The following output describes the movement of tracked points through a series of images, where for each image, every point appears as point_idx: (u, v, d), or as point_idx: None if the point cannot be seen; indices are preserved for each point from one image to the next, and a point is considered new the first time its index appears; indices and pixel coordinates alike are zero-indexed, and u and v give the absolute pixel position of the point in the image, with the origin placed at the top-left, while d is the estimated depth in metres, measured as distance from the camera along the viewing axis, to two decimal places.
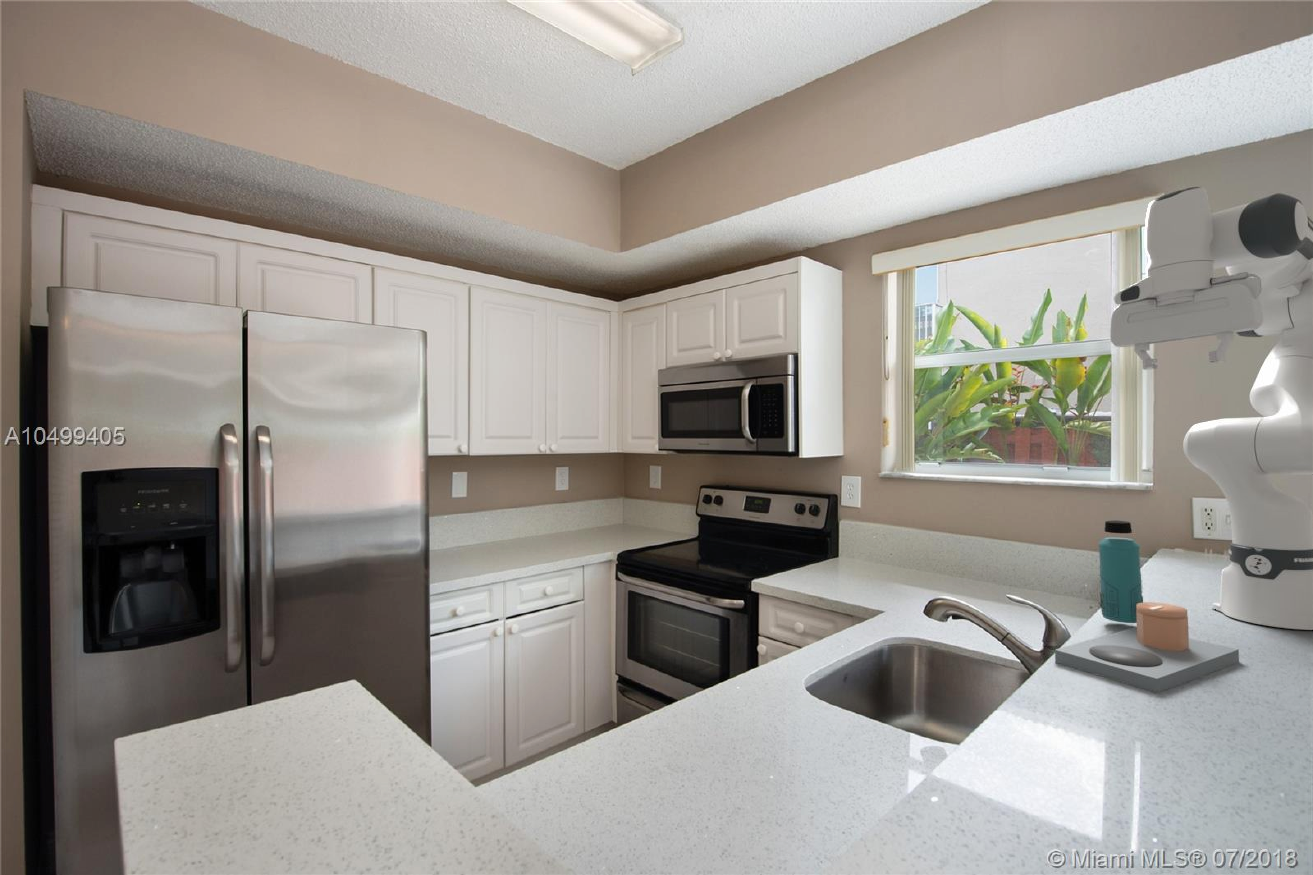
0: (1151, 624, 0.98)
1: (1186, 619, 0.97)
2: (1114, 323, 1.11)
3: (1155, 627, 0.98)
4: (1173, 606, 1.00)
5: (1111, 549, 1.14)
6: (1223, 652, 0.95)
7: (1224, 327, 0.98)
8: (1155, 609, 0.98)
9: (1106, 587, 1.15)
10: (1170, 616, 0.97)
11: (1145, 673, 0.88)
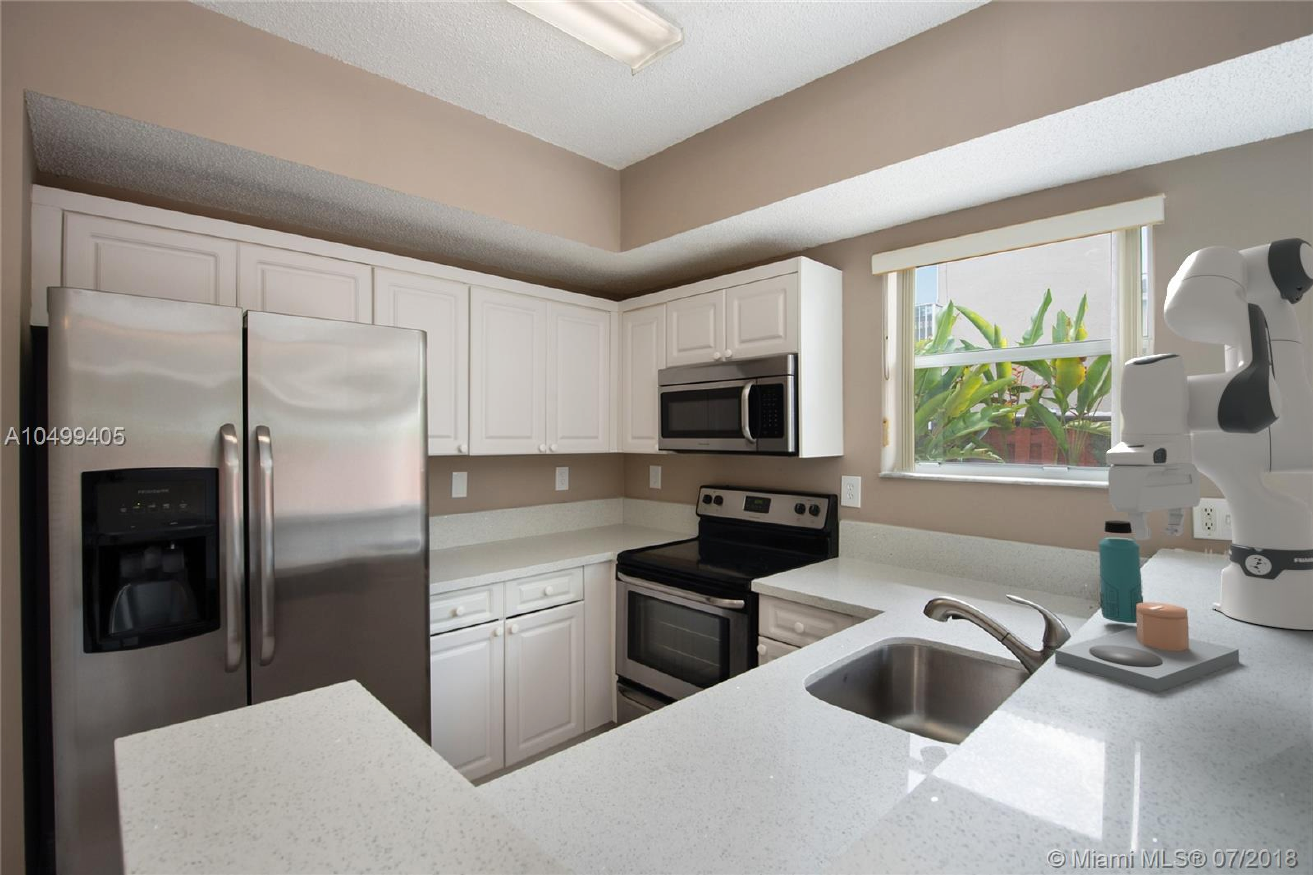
0: (1151, 624, 0.98)
1: (1186, 619, 0.97)
2: (1142, 486, 0.94)
3: (1155, 627, 0.98)
4: (1173, 606, 1.00)
5: (1111, 549, 1.14)
6: (1223, 652, 0.95)
7: (1191, 503, 1.01)
8: (1155, 609, 0.98)
9: (1106, 587, 1.15)
10: (1170, 616, 0.97)
11: (1145, 673, 0.88)
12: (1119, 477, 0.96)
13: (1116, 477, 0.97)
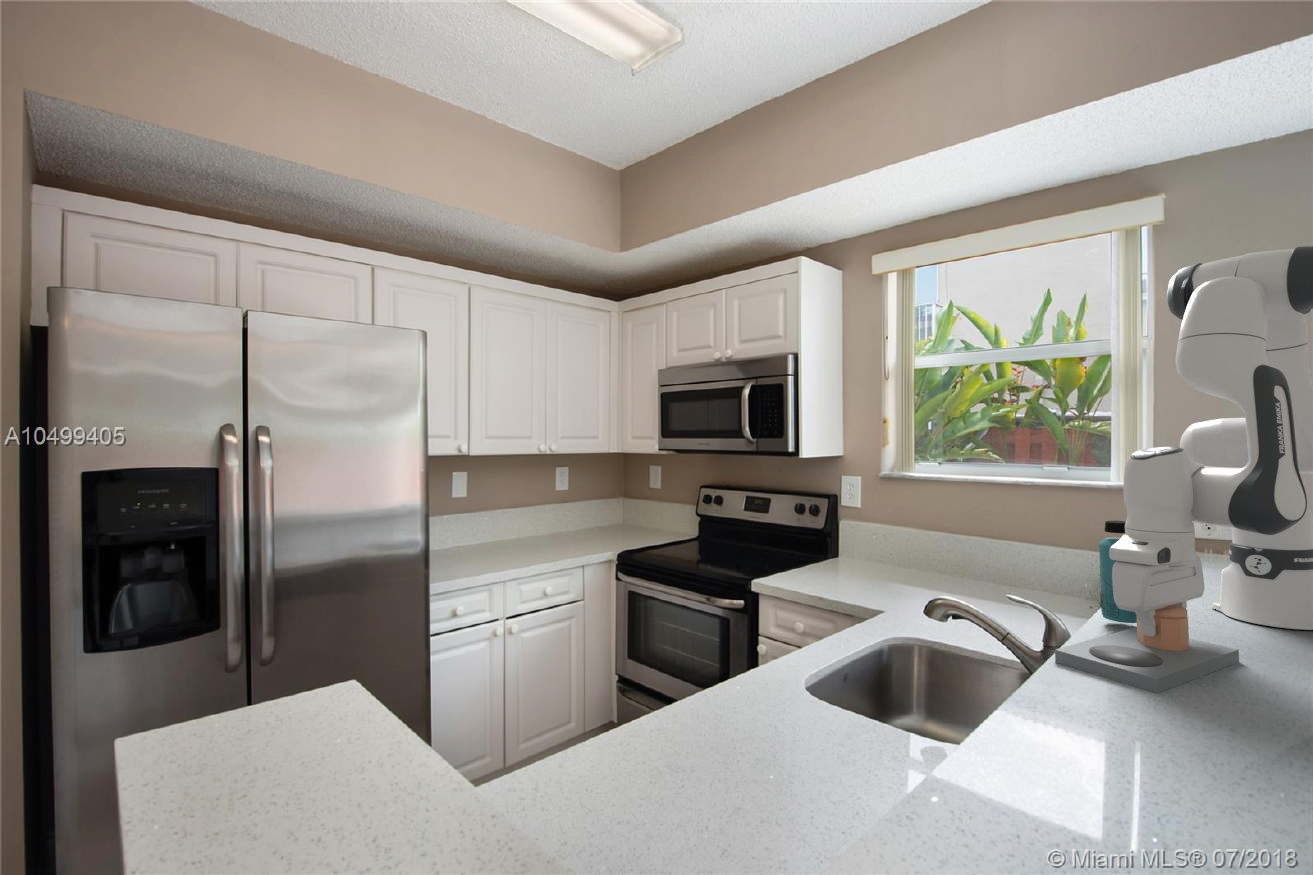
0: None
1: (1186, 619, 0.97)
2: (1146, 587, 0.94)
3: None
4: (1173, 606, 1.00)
5: None
6: (1223, 652, 0.95)
7: (1194, 596, 1.01)
8: (1155, 609, 0.98)
9: (1106, 587, 1.15)
10: (1170, 616, 0.97)
11: (1145, 673, 0.88)
12: (1122, 575, 0.96)
13: (1120, 575, 0.96)
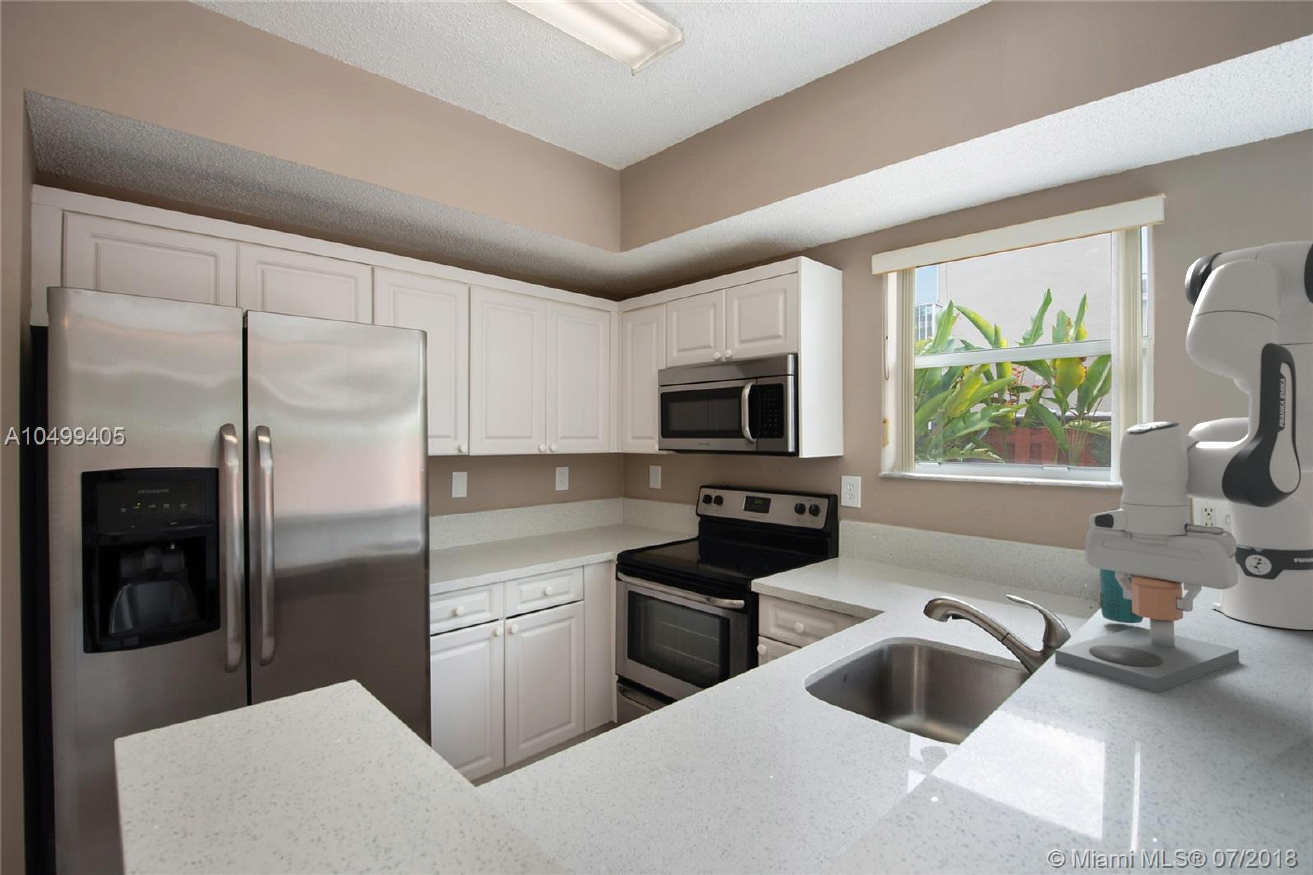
0: None
1: (1153, 590, 0.98)
2: (1089, 544, 1.08)
3: None
4: (1170, 581, 0.98)
5: None
6: (1223, 652, 0.95)
7: (1198, 582, 0.94)
8: (1137, 575, 1.02)
9: (1106, 587, 1.15)
10: (1133, 581, 1.01)
11: (1145, 673, 0.88)
12: None
13: None
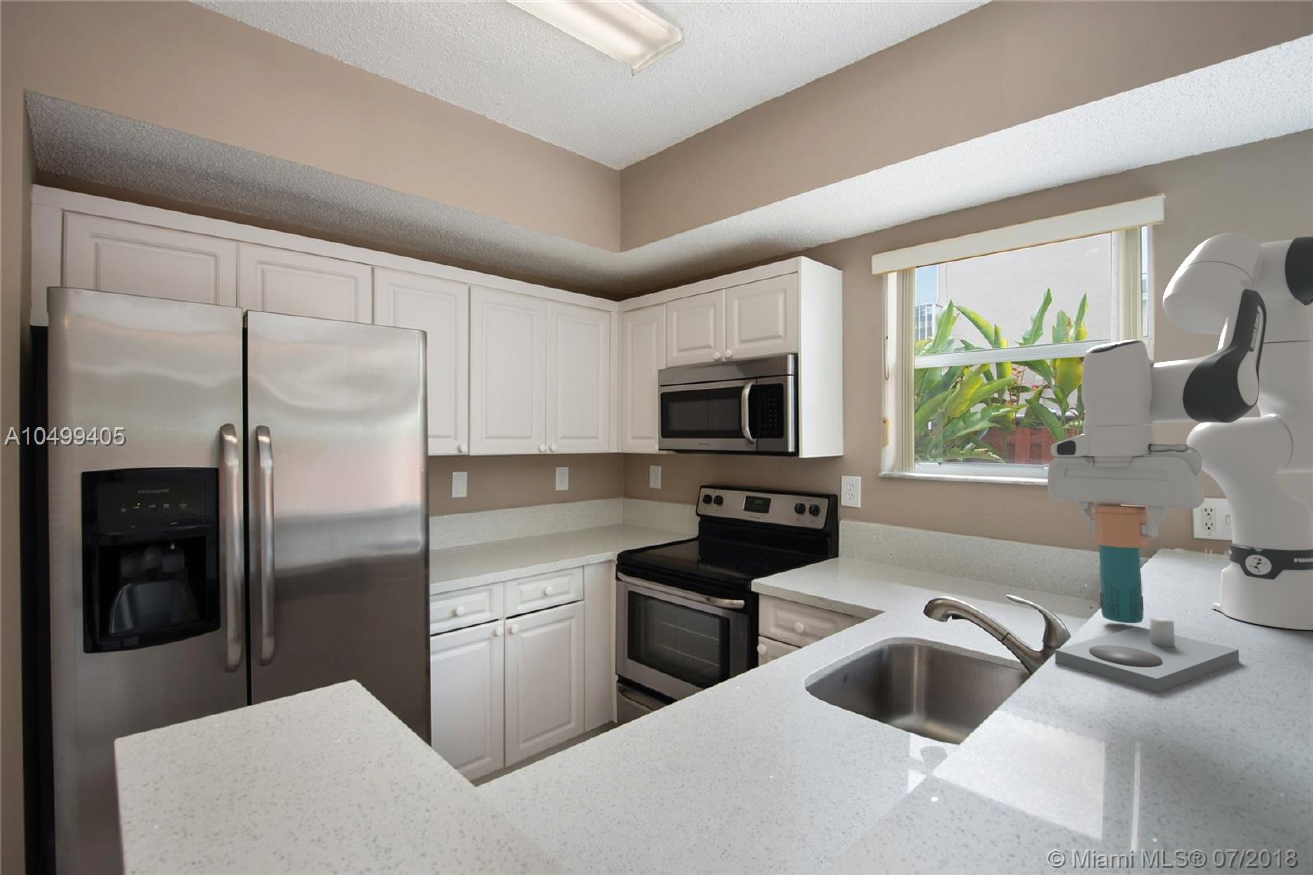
0: None
1: (1117, 516, 0.93)
2: (1051, 475, 1.02)
3: None
4: (1135, 507, 0.93)
5: (1111, 549, 1.14)
6: (1223, 652, 0.95)
7: (1162, 503, 0.88)
8: (1101, 504, 0.97)
9: (1106, 587, 1.15)
10: (1096, 509, 0.96)
11: (1145, 673, 0.88)
12: None
13: None
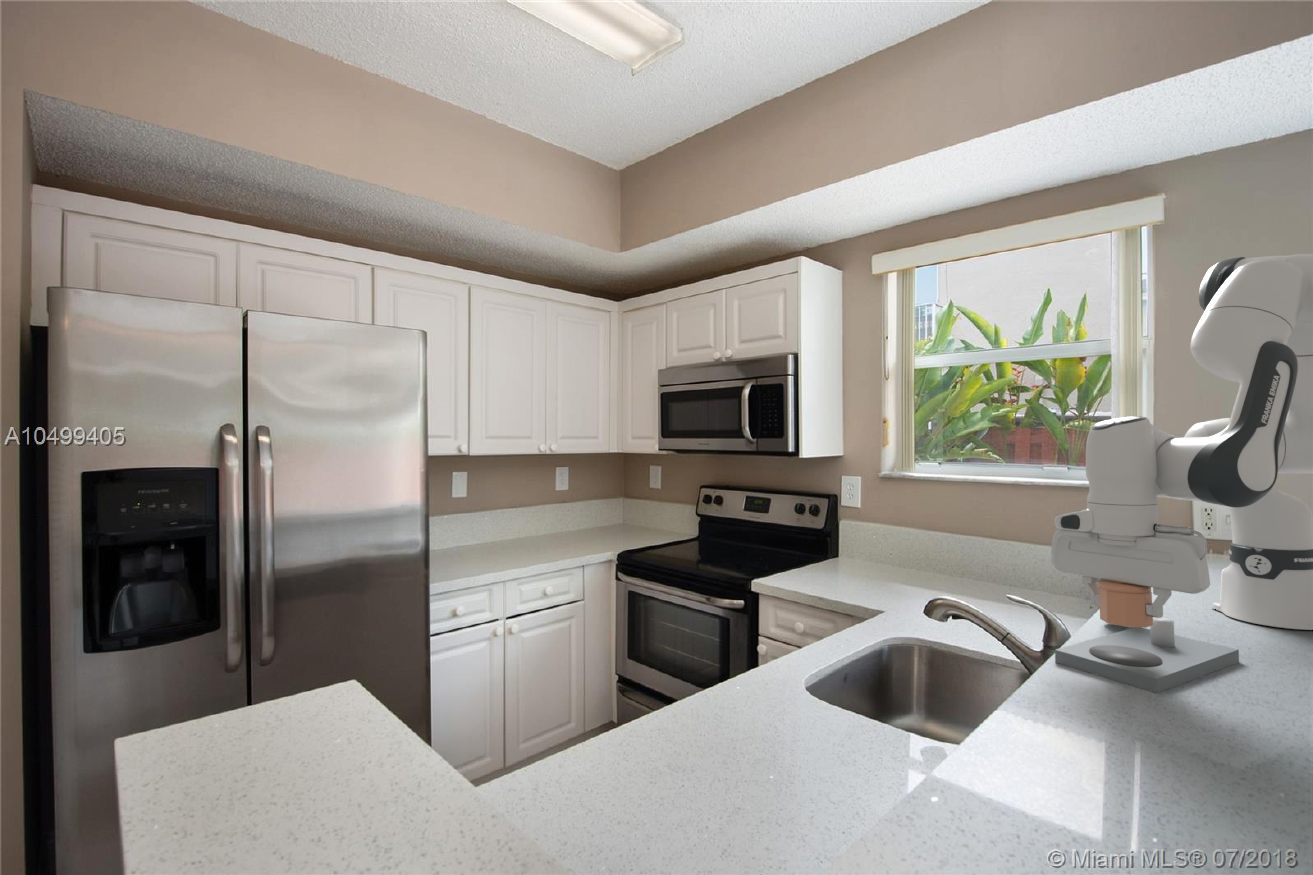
0: None
1: (1121, 595, 0.92)
2: (1055, 547, 1.02)
3: None
4: (1139, 585, 0.92)
5: None
6: (1223, 652, 0.95)
7: (1167, 586, 0.88)
8: (1105, 579, 0.97)
9: None
10: (1101, 586, 0.95)
11: (1145, 673, 0.88)
12: None
13: None
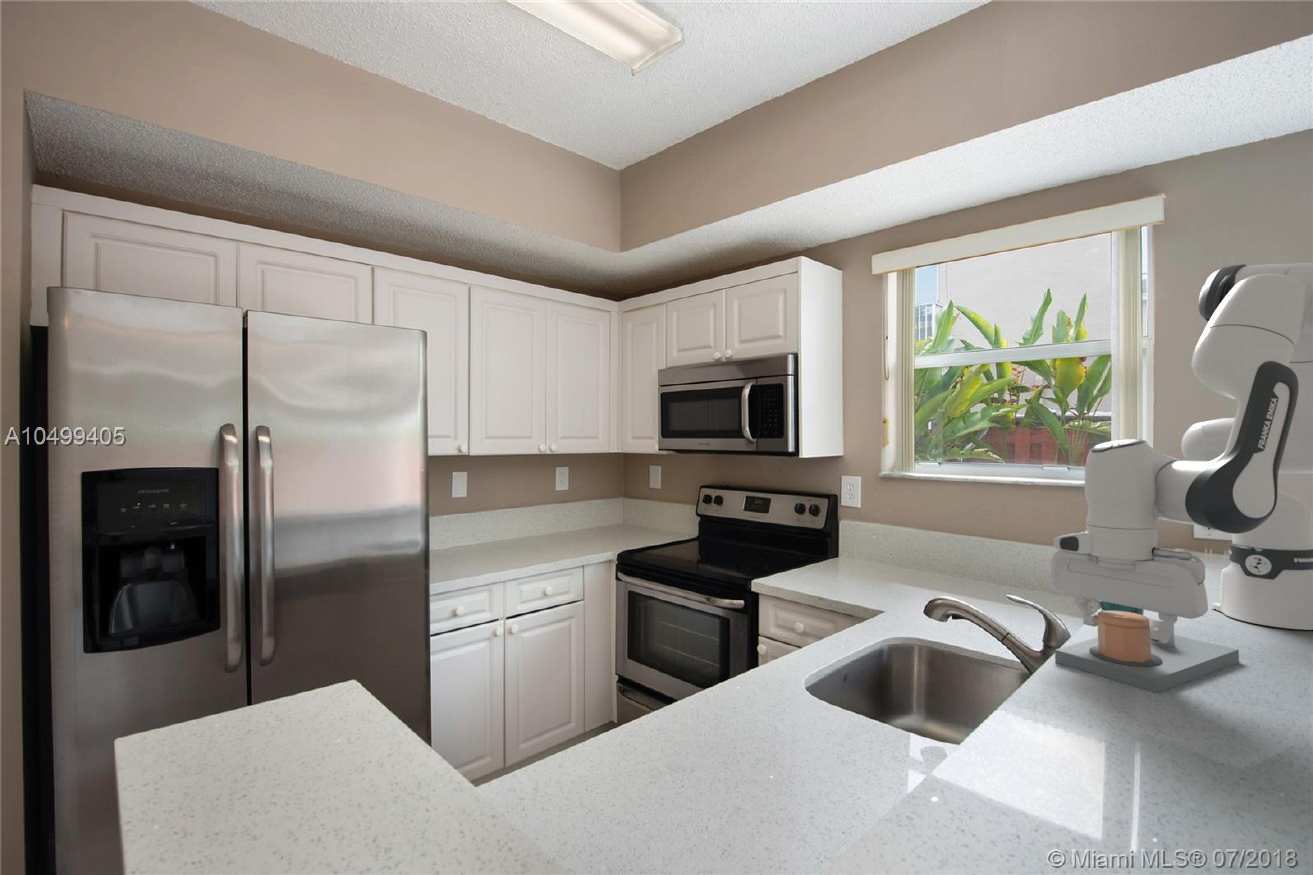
0: None
1: (1119, 629, 0.93)
2: (1054, 568, 1.02)
3: None
4: (1137, 620, 0.93)
5: None
6: (1223, 652, 0.95)
7: (1166, 610, 0.88)
8: (1104, 612, 0.97)
9: None
10: (1099, 618, 0.96)
11: (1145, 673, 0.88)
12: None
13: None
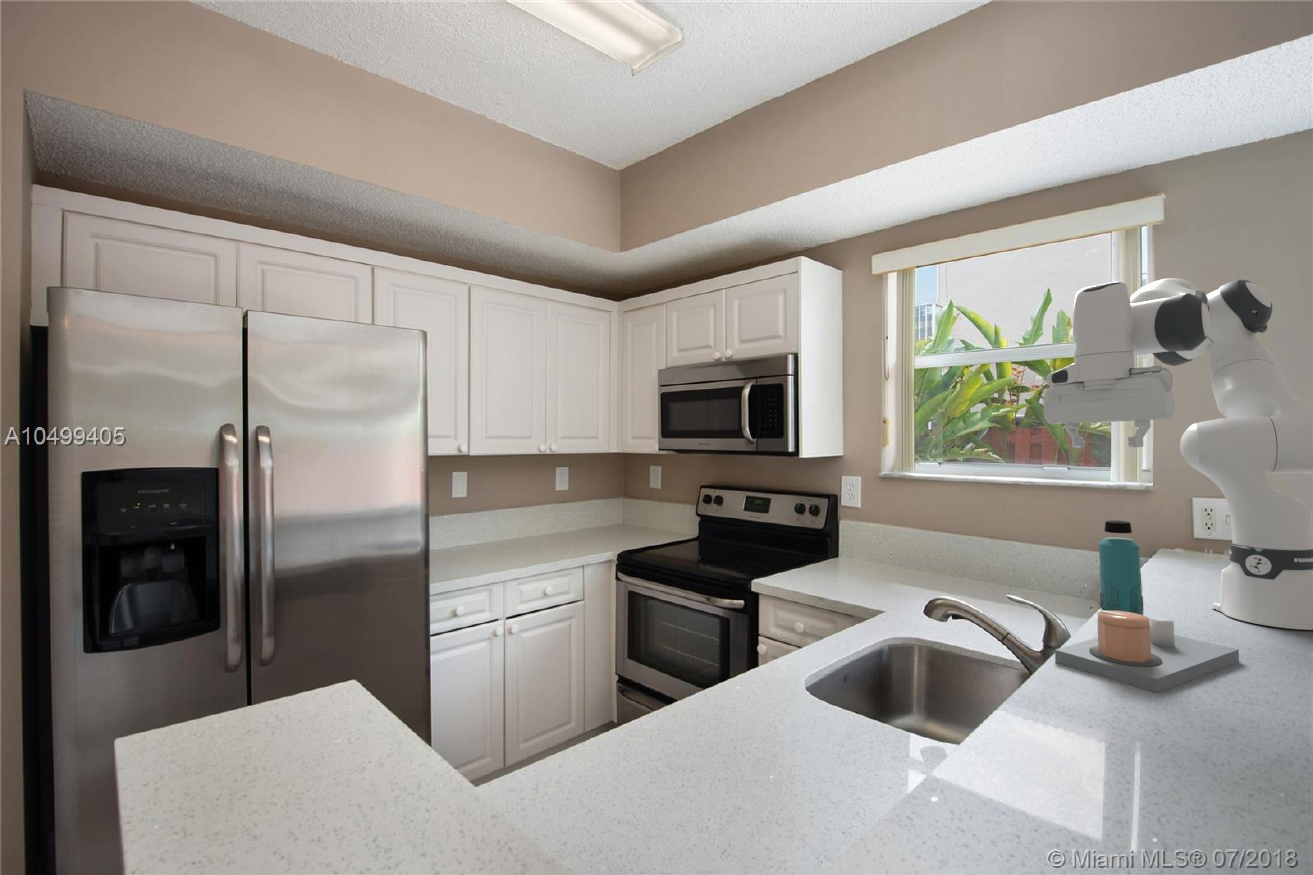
0: None
1: (1119, 629, 0.93)
2: (1047, 402, 1.18)
3: None
4: (1137, 620, 0.93)
5: (1111, 549, 1.14)
6: (1223, 652, 0.95)
7: (1140, 416, 1.05)
8: (1104, 612, 0.97)
9: (1106, 587, 1.15)
10: (1099, 618, 0.96)
11: (1145, 673, 0.88)
12: None
13: None
